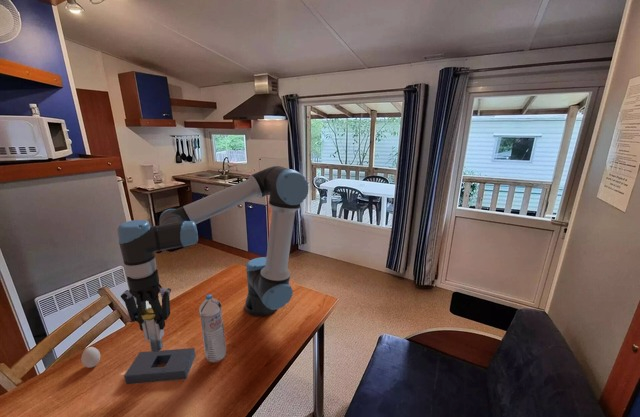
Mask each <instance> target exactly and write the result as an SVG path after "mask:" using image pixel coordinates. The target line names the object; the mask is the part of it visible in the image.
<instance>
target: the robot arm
mask: <svg viewBox="0 0 640 417" xmlns="http://www.w3.org/2000/svg"><path fill="white" fill-rule="evenodd" d="M308 194H309V182H308V180H307V179H306V177H305V176H304V175H303V173H301V172H299V171H297V170H296V169H292V168H291V169H290V168H288V167H284V166H280V165H274V166H271V167H266V168H265V169H262V170H260V171H258V172H255V173H253V174H251V175H249V176H248V179H245V180H242V181H241V182H238V183H236V184H233V185H231V186H229V187H226V188H224V189H222V190H220V191H217V192H214V193H212V194H210V195H207V196H205V197H202V198H201V199H198V200H195V201H193V202H190V203H188V204H185V205H183V206H181V207H178V208H168V209H166V210H164V211H163V212H162V213H161V214H160V216H159V220H158V224H159V225H150V222H149V221H148V220H145V219H135V220H134V219H133V220H130V221H125V222H123V223H121V224H120V225H119V226H118V227H117V230H116V231H117V237H118V244H119V249H120V252H121V256H122V260H123V261H122V262H123V265H124V272H125V275H126V276H127V277H126V280H127V284H128V288H129V290H128V289H126V290H125V291H124V292H123V293H122V294H121V295H120V298H121V300H123V303H124V304H125V308H126V310H127V314H128V316H129V319H130V322H132V323H135V322H137V323H138V324H139V329H140V331H142V332H143V336H144V341H145V342H148V341H149V336H148V332H147V327H146V322H145V320H143V319H142V316H141V315H142V314H143V313H144V312H145V310H146V309H147V302H148V304H149V306H150V308H151V307H152V309H153V312H154V314H155V317H156V320H157V321H156V322H155V328H156V333H157V338H158V340H161V339H162V338H163V336H164V335H165V329H164V328H165V327H166V321H167V320H168V318H169V317H170V315H171V304H170V303H171V301H170V294H171V291H172V289H171V288H167V289H166V288H163V287H162V285H161V284H160V276H159V271H158V269H157V268H158V266H157V260H156V254H155V253H156V252H161V251H166V250H171V249H172V250H173V249H177V248H185V247H188V246H193V245H195V244H197V243H198V242H199V234H198V229H197V228H198V226H197V225H198V224H199V223H202V222H203V221H206V220H208V219H211V218H212V217H215V216H217V215H219V214H221V213H222V214H223V213H224V212H226V211H228V210H231V209H233V208H235V207H238V206H239V205H242V204H244V203H245V202H249V201H251V200H253V199H255V198H259V199H262V198H263V197H266V196H269V198H268V204H269V206H270V207H271V216H270V225H269V226H270V227H269V231H268V232H269V233H268V234H269V235H268V242H267V251H266V256H262V257H261V256H260V257H256V258H253V259H251V260H249V261H248V262H247V264H246V269H245V271H246V280H247V292H248V293H247V295H246V300H245V303H244V305H245V306H244V308H245V312H246V313H247V314H248V315H251V316H252V317H260V318H261V317H266V316H270V315H271V314H273V313H274V312H276V311H277V310H279V309H281V308H283V307H285V306H286V305H287V304H288V303H289V302H290V301H291V299H292V297H293V293H294V292H293V287H292V285H290V279H291V272H290V270H289V269H288V265H289V257H290V253H291V252H290V251H291V243H292V238H293V231H294V230H293V229H294V223H295V217H296V212H297V211H298V210H299V209H300V208H301V204H302V203H303V202H304V200H306V198H307V197H308ZM159 293H160V296H159ZM160 297H161V302H160V300H159V299H160Z"/></svg>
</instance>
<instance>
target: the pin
mask: <svg viewBox="0 0 640 417" xmlns="http://www.w3.org/2000/svg"><path fill="white" fill-rule="evenodd" d="M141 316H142V319H143V320H145V322H146V327H147V332H148V336H149V340H148V341H149V346H150V351H152V352H157V351H161V350H163V347H164V346H163V340H162V338H161V340H158V338H157V333H156V328H155V322H156V321H157V320H156V317H155V314H154V312H153V309H152V307H151V306H150V307H148V308H146V310H145V312H144V313H143V314H142V315H141Z"/></svg>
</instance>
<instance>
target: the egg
mask: <svg viewBox="0 0 640 417" xmlns="http://www.w3.org/2000/svg"><path fill="white" fill-rule="evenodd" d="M80 358H81V360H80V361H81V364H82V365H83V366H84V367H86V368H89V369H90V368H91V369H92V368H94V367H96V366H97V365H98V363H99V362H100V360H101V353H100V351H99V349H98V348H96V347H94V346H89V347H87V348H85V349H84V350H83V352H82V354H81V357H80Z"/></svg>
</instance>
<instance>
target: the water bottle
mask: <svg viewBox="0 0 640 417" xmlns="http://www.w3.org/2000/svg"><path fill="white" fill-rule="evenodd" d="M198 308H199V309H198V311H199V312H198V313H199V317H200V322H201V332H202V333H201V334H202V338H203V346H204V353H205V358H206V359H205V360H206V361H207V362H209V363H212V364H213V363H214V364H215V363H219V362H220V361H222V360H223V359H224V358H225V357H226V356H227V355H226V354H227V346H226V345H227V344H226V338H225V337H226V336H225V327H224V322H223V315H222V314H223V313H222V303H221V301H219V300H218V299H216V298H214V297H213V295H212V294H207V295H205V300H203V301H202V303H201V304H200V306H199V307H198Z"/></svg>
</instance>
